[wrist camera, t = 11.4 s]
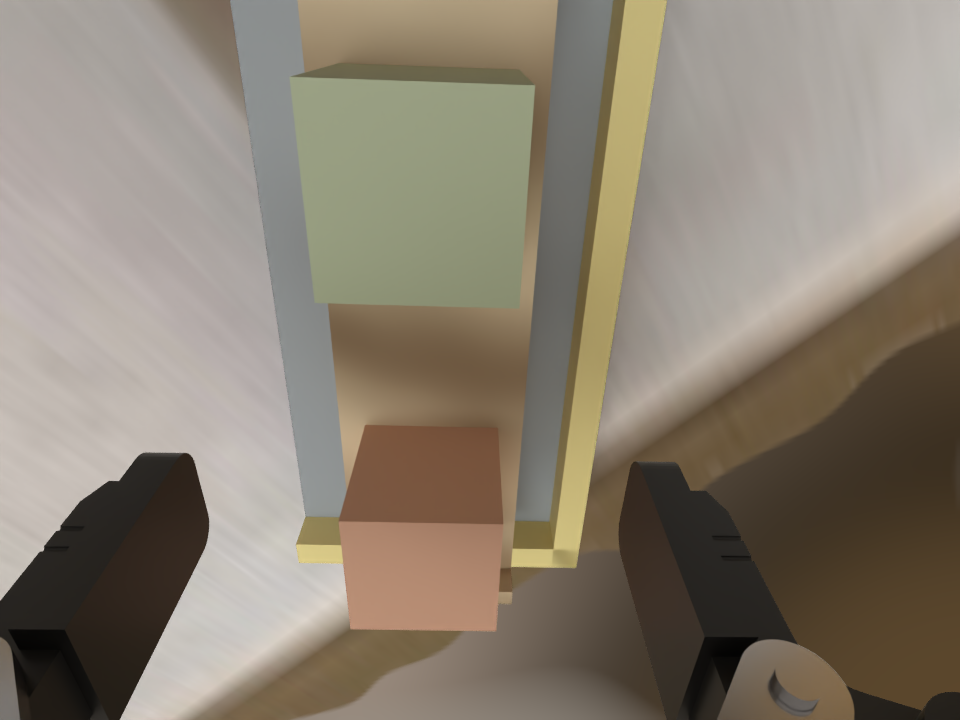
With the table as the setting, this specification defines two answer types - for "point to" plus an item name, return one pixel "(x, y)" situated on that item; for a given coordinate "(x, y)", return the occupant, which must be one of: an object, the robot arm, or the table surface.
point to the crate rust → (423, 529)
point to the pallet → (434, 329)
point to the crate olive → (414, 183)
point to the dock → (558, 278)
